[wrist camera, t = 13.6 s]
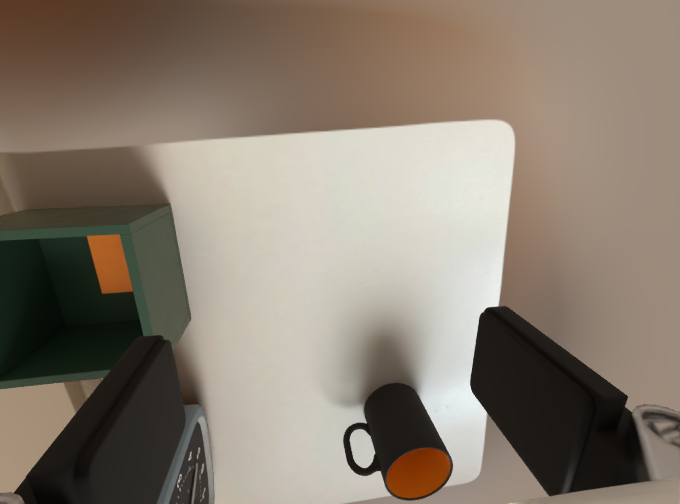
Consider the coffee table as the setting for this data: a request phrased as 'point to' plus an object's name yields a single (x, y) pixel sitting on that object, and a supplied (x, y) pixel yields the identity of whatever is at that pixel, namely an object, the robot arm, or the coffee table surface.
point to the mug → (402, 444)
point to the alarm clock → (191, 464)
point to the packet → (110, 263)
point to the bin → (84, 291)
